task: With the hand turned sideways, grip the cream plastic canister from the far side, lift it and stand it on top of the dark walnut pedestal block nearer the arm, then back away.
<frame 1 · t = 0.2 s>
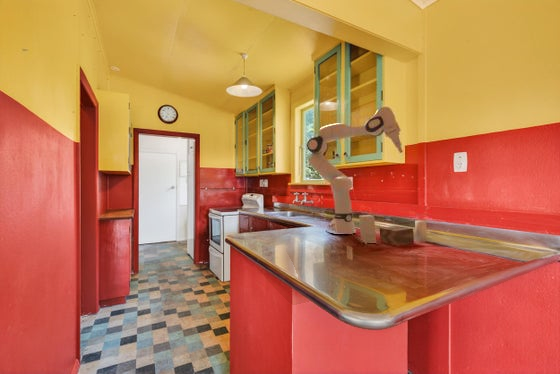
hand: (400, 151, 154), 52 cm above the counter, tool tilted 20°, fingers open, 8 cm apart
cream canister: (421, 240, 141), on the counter
skincare box: (368, 243, 143), on the counter
walnut base: (396, 242, 140), on the counter
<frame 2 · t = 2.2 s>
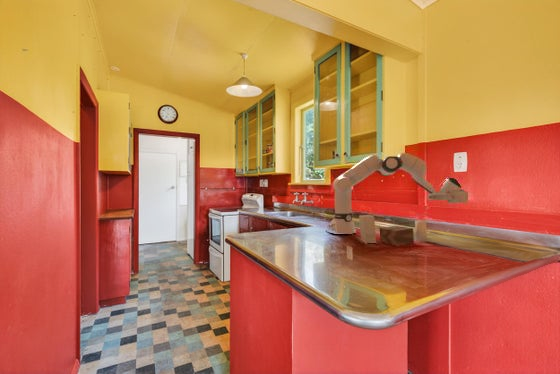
hand: (436, 197, 145), 23 cm above the counter, tool horizontal, fingers open, 8 cm apart
nothing on the counter moved.
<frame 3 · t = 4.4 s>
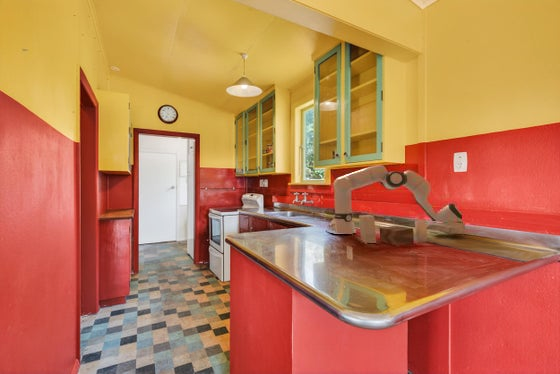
hand: (433, 228, 145), 6 cm above the counter, tool horizontal, fingers open, 8 cm apart
nothing on the counter moved.
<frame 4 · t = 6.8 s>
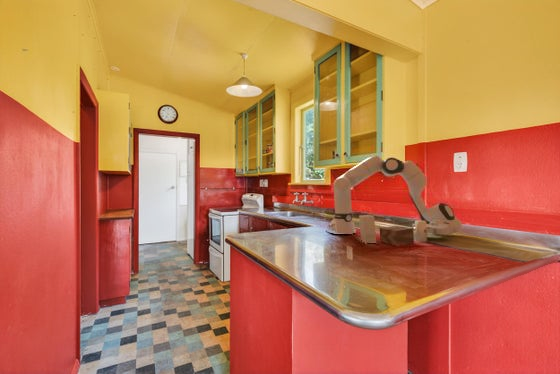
hand: (419, 230, 141), 6 cm above the counter, tool horizontal, fingers closed on cream canister, 5 cm apart
cream canister: (421, 240, 141), on the counter, touching gripper
everything else where it was.
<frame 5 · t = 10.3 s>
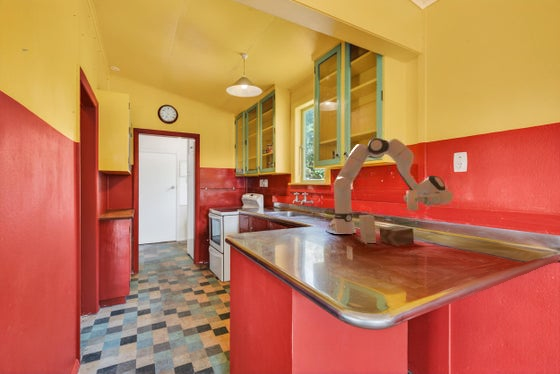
hand: (411, 199, 140), 23 cm above the counter, tool horizontal, fingers closed on cream canister, 5 cm apart
cream canister: (412, 210, 141), point 17 cm above the counter, touching gripper
everything else where it was.
when the fingers open (15 cm above the counter, at t = 13.7 s): cream canister drops 1 cm, resting on walnut base.
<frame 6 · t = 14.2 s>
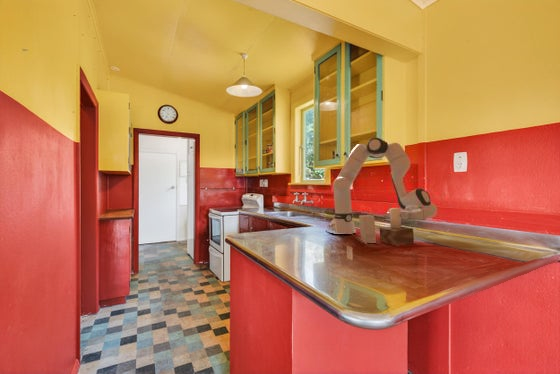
hand: (393, 214, 140), 15 cm above the counter, tool horizontal, fingers open, 8 cm apart
cream canister: (395, 228, 140), point 8 cm above the counter, touching walnut base
everything else where it was.
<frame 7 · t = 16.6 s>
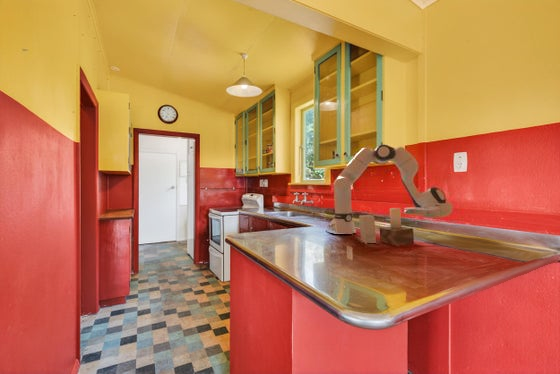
hand: (411, 212, 144), 16 cm above the counter, tool horizontal, fingers open, 8 cm apart
nothing on the counter moved.
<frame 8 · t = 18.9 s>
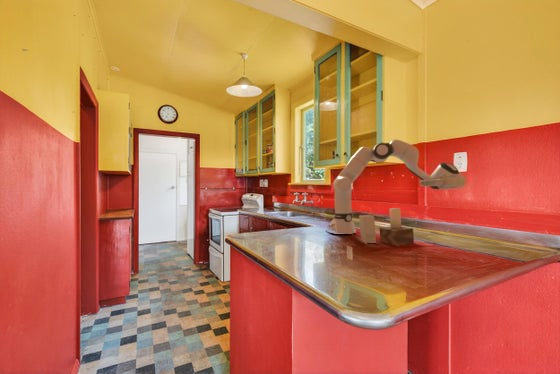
hand: (427, 183, 143), 32 cm above the counter, tool horizontal, fingers open, 8 cm apart
nothing on the counter moved.
at the end: cream canister 0.0 cm off-centre on the walnut base, point 8.0 cm above the walnut base's base; cream canister tilted 0°; the gripper is holding nothing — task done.
